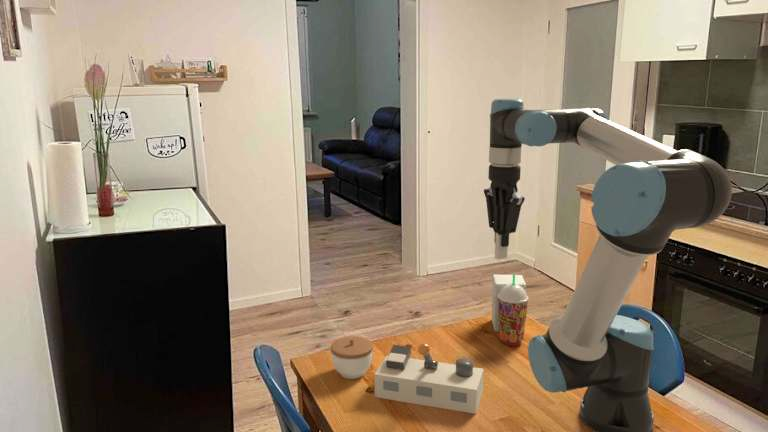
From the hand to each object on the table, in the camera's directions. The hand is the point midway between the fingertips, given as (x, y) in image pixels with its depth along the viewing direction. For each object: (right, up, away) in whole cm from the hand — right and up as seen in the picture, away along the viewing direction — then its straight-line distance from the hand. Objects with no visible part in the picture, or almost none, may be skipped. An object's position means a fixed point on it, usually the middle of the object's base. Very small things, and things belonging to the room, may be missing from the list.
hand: (500, 257), depth 147 cm
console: (-18, -32, -6) cm, 38 cm away
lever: (-18, -25, -7) cm, 31 cm away
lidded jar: (-37, -30, +4) cm, 48 cm away
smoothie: (+7, -25, +20) cm, 33 cm away
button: (-10, -26, -9) cm, 30 cm away
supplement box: (+8, -23, +31) cm, 39 cm away
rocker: (-26, -24, -5) cm, 35 cm away
